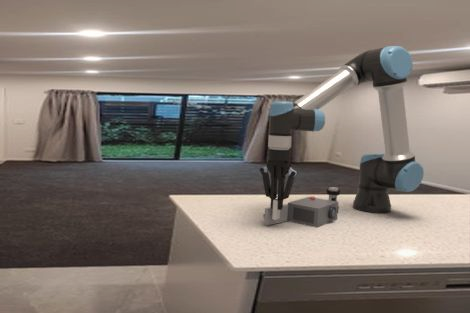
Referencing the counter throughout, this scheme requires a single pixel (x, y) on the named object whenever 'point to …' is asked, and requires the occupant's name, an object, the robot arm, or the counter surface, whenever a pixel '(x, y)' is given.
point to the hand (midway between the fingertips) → (276, 218)
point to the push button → (333, 194)
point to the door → (269, 213)
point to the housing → (312, 211)
